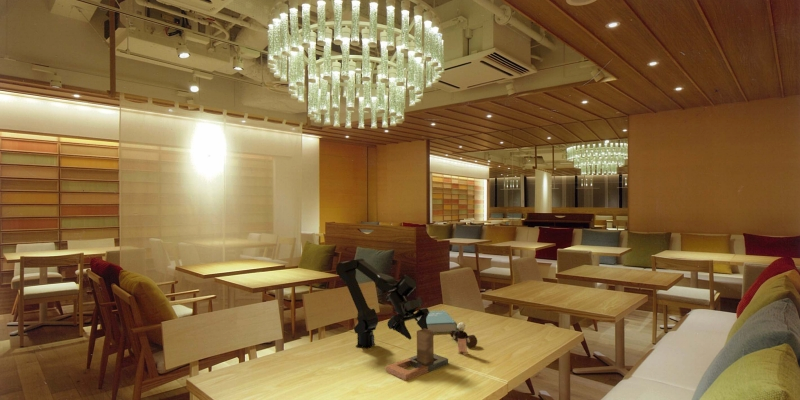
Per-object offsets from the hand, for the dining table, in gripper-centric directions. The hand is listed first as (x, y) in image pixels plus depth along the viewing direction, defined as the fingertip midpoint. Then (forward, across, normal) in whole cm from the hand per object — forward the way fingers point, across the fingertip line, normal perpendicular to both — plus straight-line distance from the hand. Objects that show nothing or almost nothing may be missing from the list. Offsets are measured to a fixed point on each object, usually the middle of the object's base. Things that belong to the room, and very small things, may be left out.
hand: (419, 336), depth 160 cm
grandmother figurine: (+10, +20, +4) cm, 23 cm away
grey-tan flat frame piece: (+9, -4, +5) cm, 11 cm away
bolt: (+5, +30, +10) cm, 32 cm away
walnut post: (+9, 0, +5) cm, 11 cm away
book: (-14, +40, +29) cm, 51 cm away
